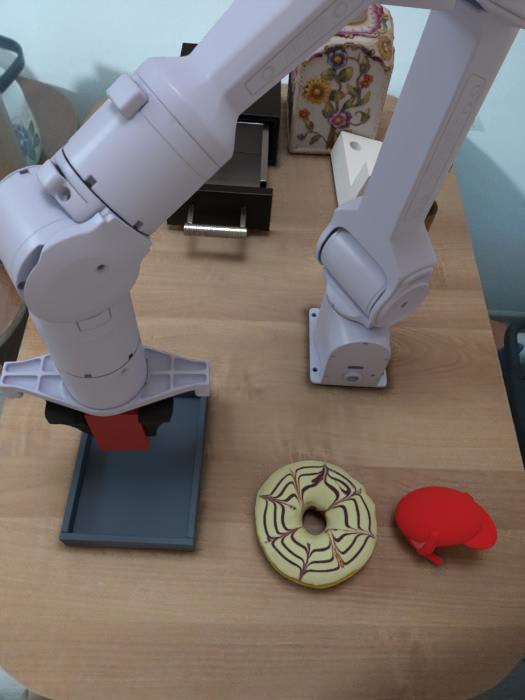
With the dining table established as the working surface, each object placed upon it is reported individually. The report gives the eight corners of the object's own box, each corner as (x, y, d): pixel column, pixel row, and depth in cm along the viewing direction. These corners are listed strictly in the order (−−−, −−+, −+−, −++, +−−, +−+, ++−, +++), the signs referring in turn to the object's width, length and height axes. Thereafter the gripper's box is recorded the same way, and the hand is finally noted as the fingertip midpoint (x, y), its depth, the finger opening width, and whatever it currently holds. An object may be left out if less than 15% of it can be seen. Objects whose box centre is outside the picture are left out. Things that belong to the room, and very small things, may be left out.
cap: (386, 557, 50) (405, 541, 44) (390, 492, 53) (407, 470, 48) (477, 574, 49) (506, 560, 44) (475, 507, 52) (502, 487, 47)
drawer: (268, 258, 66) (271, 223, 61) (162, 251, 65) (157, 215, 60) (271, 157, 75) (275, 119, 70) (179, 151, 75) (176, 112, 70)
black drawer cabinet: (275, 166, 76) (280, 116, 69) (174, 159, 75) (169, 108, 69) (277, 99, 83) (281, 49, 77) (185, 93, 83) (182, 42, 76)
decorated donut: (331, 451, 54) (337, 436, 51) (392, 554, 50) (404, 544, 46) (234, 498, 51) (235, 485, 48) (290, 612, 47) (295, 606, 43)
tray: (194, 550, 49) (193, 545, 47) (64, 545, 48) (58, 539, 47) (208, 395, 57) (207, 385, 55) (97, 389, 56) (93, 379, 55)
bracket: (391, 233, 72) (423, 189, 65) (340, 221, 69) (369, 175, 63) (376, 164, 78) (404, 118, 72) (330, 152, 76) (355, 104, 70)
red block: (149, 450, 47) (138, 415, 41) (101, 451, 47) (83, 415, 41) (152, 403, 50) (142, 363, 44) (106, 403, 49) (90, 364, 43)
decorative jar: (285, 102, 83) (299, -32, 68) (363, 106, 84) (394, -26, 68) (287, 156, 77) (302, 21, 61) (371, 160, 77) (407, 28, 62)
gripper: (208, 290, 39) (211, 383, 50) (-9, 289, 37) (45, 385, 49) (207, 380, 35) (211, 458, 46) (-34, 382, 34) (31, 461, 45)
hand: (125, 425), depth 47 cm, fingers closed on red block, 4 cm apart
